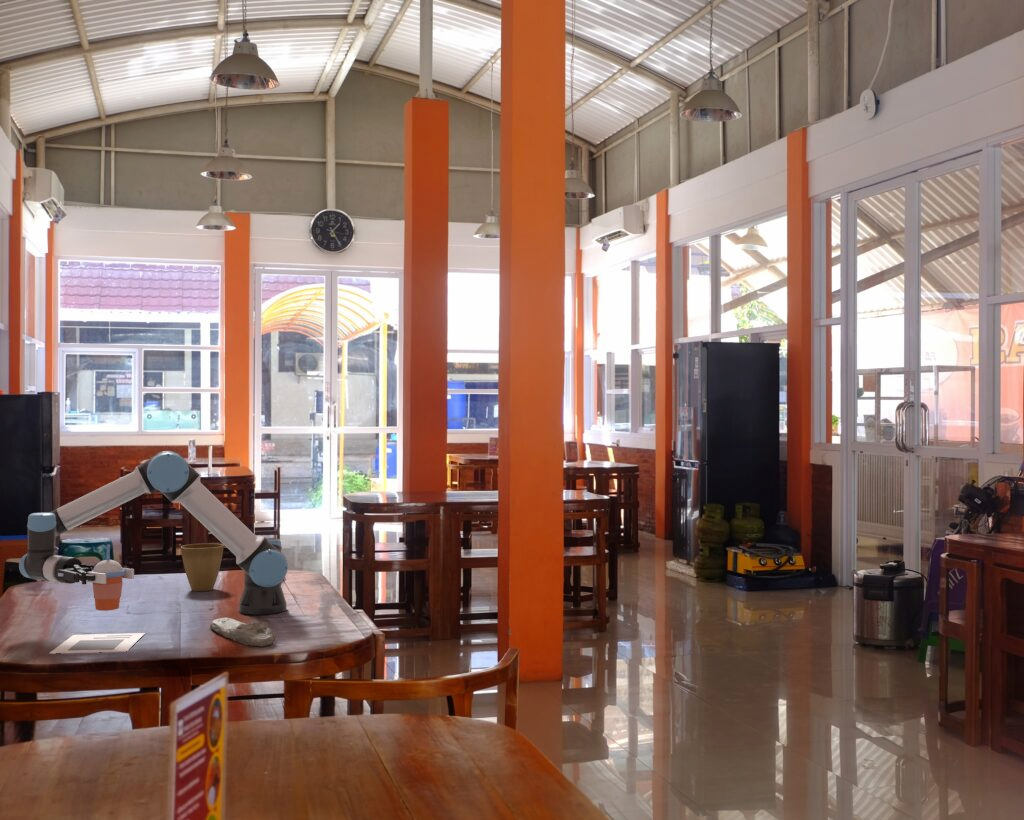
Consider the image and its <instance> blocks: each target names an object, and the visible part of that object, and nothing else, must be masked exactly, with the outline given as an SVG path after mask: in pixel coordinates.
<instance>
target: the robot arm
mask: <svg viewBox="0 0 1024 820" xmlns="http://www.w3.org/2000/svg"><path fill="white" fill-rule="evenodd" d="M157 491H159V492H160V493H161V494H162V495H164V496H165V497H166V498H167V500H169V502H171V503H172V504H173V503H174V504H175V503H177V504H180V505H181V506H182V507H184V508H185V509H186V511H188V512H189V513H190V514H191V515H192V516H193V517H194V518H195V519H196V520H197V521H199V523H201V524H202V526H204V527H205V528H206V530H207V531H208V532H210V533H211V534H212V536H214V537H215V538H216V539H217V540H218V541H220V543H221V544H222V545H224V547H225V548H227V549H228V550H229V551H230V552H231V553H232V554H233V556H235V561H236V562H235V563H236V565H237V566H239V568H240V569H241V570H242V571H244V587H243V591H242V594H241V597H240V600H239V603H238V612H239V613H241V614H244V615H255V616H256V615H257V616H260V615H273V614H279V613H284V612H285V611H287V600H286V597H285V595H284V591H283V587H282V581H283V580H284V579H285V577H286V576H287V573H288V567H289V566H288V560H287V558H286V556H285V555H284V554H283V552H282V549H283V547H282V541H281V540H279V539H267V538H266V537H265V536H262V535H261V536H259V535H256V534H255V533H253V531H251V529H250V528H249V527H248V526H246V525H245V524H244V523H243V522H242V521H241V520H240V519H239V518H238V517H237V516H236V515H235V514H234V513H233V512H232V511H231V510H230V509H229V508H227V506H226V505H225V504H224V503H222V502H221V500H219V499H218V498H217V497H216V496H215V494H213V493H212V492H211V491H210V490H209V489H208V488H207V487H206V486H205V485H204V484H203V483H202V482H201V475H200V473H199V472H198V471H196V469H195V468H193V466H191V465H190V464H189V462H187V461H186V459H185V458H184V457H183V456H182V455H181V454H179V453H178V452H175V451H172V450H164V451H160V452H158V453H156V454H154V455H153V456H152V457H151V458H149V459H148V460H146V461H144V462H143V463H140V464H139V465H137V466H135V469H134V470H133V471H132V472H130V473H128V474H126V475H124V476H122V477H119V478H117V479H116V480H114V481H111V482H109V483H107V484H105V485H103V486H101V487H99V488H97V489H94V490H93V491H90V492H88V493H87V494H84V495H83V496H81V497H78V498H76V499H74V500H73V501H70V502H68V503H65V504H63V505H62V506H60V507H58V508H56V509H54V510H52V511H50V512H33V513H30V514H29V515H28V517H27V525H26V527H27V550H26V551H27V552H26V553H25V554H23V556H22V557H21V559H20V561H19V563H18V568H19V572H20V574H21V575H22V576H23V577H25V578H28V579H32V580H36V581H38V580H39V581H48V582H54V584H56V585H57V584H59V583H61V584H69V585H70V584H71V585H72V584H75V583H80V581H81V585H87V583H92V584H93V583H101V584H106V574H104V573H96V572H91V571H93V569H94V567H95V566H96V564H97V563H95V564H87V563H83V562H82V561H81V560H80V559H79V558H77V557H74V556H73V557H72V556H65V555H57V554H56V537H58V536H60V535H63V534H64V533H66V532H68V531H70V530H72V529H74V528H76V527H78V526H81V525H82V524H84V523H86V522H88V521H90V520H92V519H95V518H96V517H99V516H101V515H102V514H105V513H107V512H108V511H111V510H114V509H115V508H117V507H119V506H121V505H123V504H125V503H127V502H130V501H132V500H133V499H135V498H138V497H140V496H142V495H143V494H150V495H151V494H152V493H155V492H157ZM121 567H122V569H123V570H125V575H123V576H122V579H129V580H134V579H135V569H134V568H127V567H124V566H123V565H121Z"/></svg>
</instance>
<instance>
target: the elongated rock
mask: <svg viewBox="0 0 1024 820" xmlns="http://www.w3.org/2000/svg"><path fill="white" fill-rule="evenodd" d="M269 626H270V624H269V623H268V622H267V621H263V622H253V623H245V622H242V621H240V620H237V619H234V618H232V617H231V618H230V617H220V618H219V617H218V618H217V619H213V620H212V621H211V622H210V626H209V628H210V629H212V630H213V631H214V632H216V633H217V634H218V635H222V636H223V637H224V638H226V639H230V640H232V641H234V642H237V643H240V644H243V645H244V646H246V647H247V646H252V647H253V646H255V647H266V646H270V645H273V643H274V641H275V640H276V634H275V633H274V630H272V629H271V628H270V627H269Z"/></svg>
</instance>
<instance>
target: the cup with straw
mask: <svg viewBox="0 0 1024 820" xmlns="http://www.w3.org/2000/svg"><path fill="white" fill-rule="evenodd" d="M105 551H106V553H105V554H106V556H105V559H104V560H100V561H99V562H98V563H95V564H96V566H95V567H94V569H93V571H91V572H96V573H104V574H106V584H101V583H93V582H92V591H93V592H92V593H93V598H94V605H95V610H96V611H101V612H103V611H104V612H107V611H114V610H119V608H120V602H121V601H120V600H121V597H122V590H123V578H122V576H123V575H125V570H123V569H122V567H121V566H122V565H121V564H120V562H118V561H116V560H113V559H111V554H110V552H111V545H110V544H106V550H105Z"/></svg>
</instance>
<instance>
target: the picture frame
mask: <svg viewBox="0 0 1024 820" xmlns="http://www.w3.org/2000/svg"><path fill="white" fill-rule="evenodd" d="M144 634H145V635H146V632H142V633H141V632H138V633H137V632H135V633H133V632H132V633H131V632H130V633H94V634H93V633H92V634H91V633H90V634H73V635H70V637H69V638H68V639H66V640H65V641H63V642H62V643H60V645H58V646H56V647H55V648H54V649H53V650H51V651H50V652H49V654H51V655H53V654H54V655H56V653H61V654H89V653H90V654H95V653H98V654H99V652H102V653H127V652H129V651H130V650H131V649H132V648H133V647H134V646H135V645H136V644H137V643H138V642H139V641H140V640H141V639H142V638H143V637H144V636H145V635H144ZM143 635H144V636H143ZM142 636H143V637H142ZM141 637H142V638H141ZM140 638H141V639H140ZM139 639H140V640H139ZM138 640H139V641H138ZM137 641H138V642H137ZM136 642H137V643H136ZM135 643H136V644H135ZM134 644H135V645H134ZM133 645H134V646H133ZM132 646H133V647H132ZM131 647H132V648H131ZM130 648H131V649H130ZM129 649H130V650H129ZM126 651H127V652H126Z"/></svg>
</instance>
